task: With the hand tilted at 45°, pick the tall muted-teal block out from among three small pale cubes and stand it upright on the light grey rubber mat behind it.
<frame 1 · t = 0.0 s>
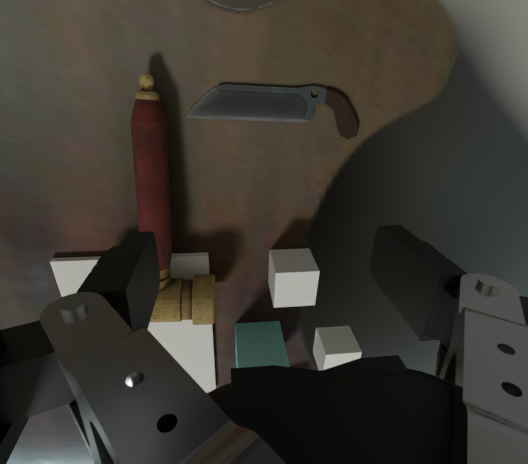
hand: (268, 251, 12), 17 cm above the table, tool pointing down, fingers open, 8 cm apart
gavel: (158, 206, 28), on the table, touching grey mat
teal block: (256, 338, 38), on the table
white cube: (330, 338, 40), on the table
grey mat: (147, 332, 35), on the table
knife: (275, 110, 26), on the table
grey cube left: (288, 265, 34), on the table
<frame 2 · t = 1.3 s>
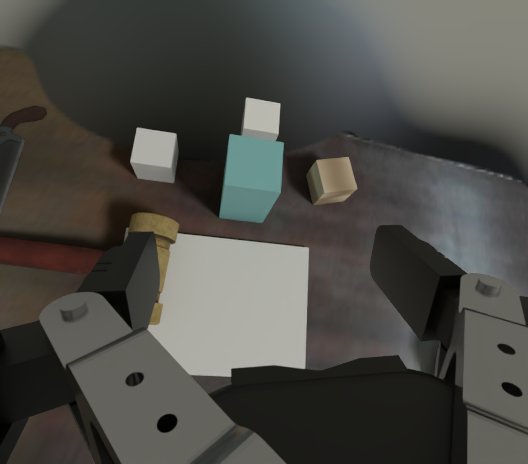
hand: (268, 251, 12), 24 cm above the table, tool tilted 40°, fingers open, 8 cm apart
gavel: (67, 261, 33), on the table, touching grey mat
teal block: (242, 200, 38), on the table
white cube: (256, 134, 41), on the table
birch cube right: (324, 188, 41), on the table
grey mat: (214, 303, 35), on the table
knife: (12, 163, 35), on the table
grey cube left: (158, 165, 38), on the table
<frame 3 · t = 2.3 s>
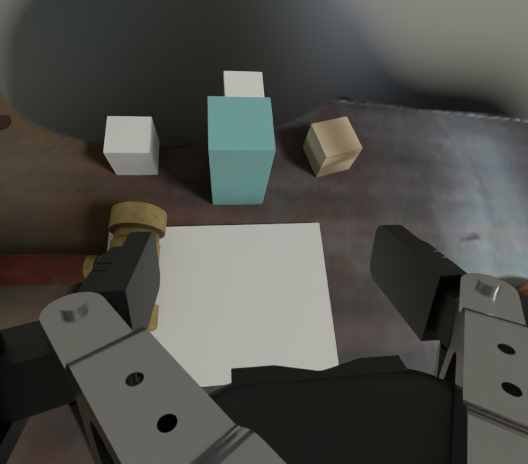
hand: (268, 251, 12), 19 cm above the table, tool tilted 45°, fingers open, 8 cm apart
gavel: (45, 274, 29), on the table, touching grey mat
teal block: (236, 182, 34), on the table
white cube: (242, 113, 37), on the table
birch cube right: (325, 158, 36), on the table
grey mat: (220, 299, 30), on the table
grey cube left: (138, 158, 34), on the table
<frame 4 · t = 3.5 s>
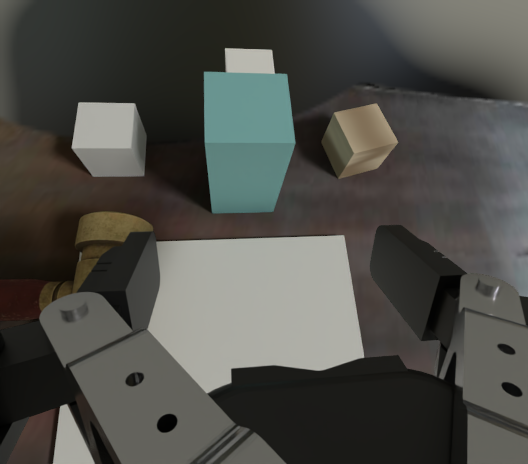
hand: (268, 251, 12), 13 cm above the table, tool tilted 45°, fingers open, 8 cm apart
teal block: (241, 185, 28), on the table
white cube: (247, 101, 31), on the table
birch cube right: (348, 155, 30), on the table
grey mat: (221, 335, 23), on the table
grey cube left: (121, 156, 28), on the table
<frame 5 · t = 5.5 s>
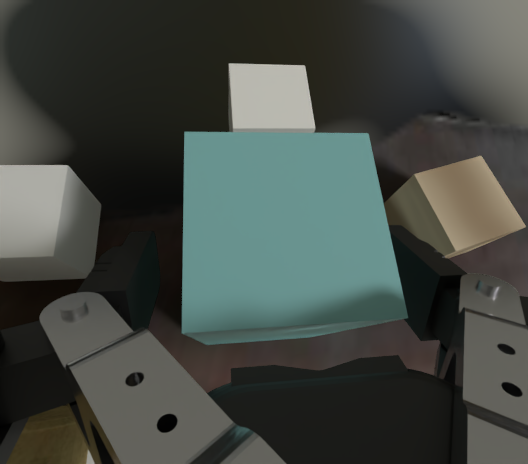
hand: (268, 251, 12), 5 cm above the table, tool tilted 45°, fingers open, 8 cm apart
teal block: (255, 289, 17), on the table
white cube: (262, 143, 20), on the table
birch cube right: (422, 230, 19), on the table
grey cube left: (56, 241, 17), on the table
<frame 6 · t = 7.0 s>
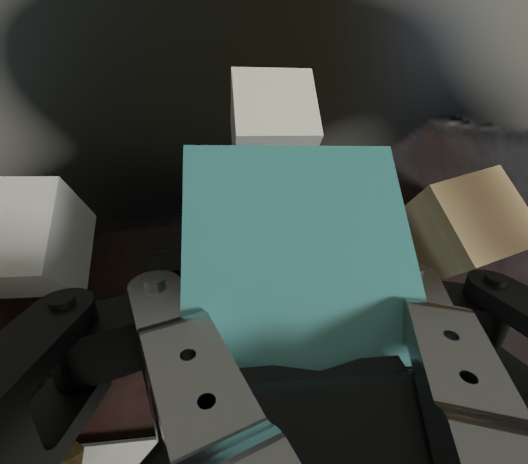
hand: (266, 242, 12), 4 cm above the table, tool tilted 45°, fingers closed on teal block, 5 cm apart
teal block: (259, 306, 16), on the table, touching gripper
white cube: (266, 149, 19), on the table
birch cube right: (434, 241, 18), on the table
grey cube left: (48, 255, 16), on the table
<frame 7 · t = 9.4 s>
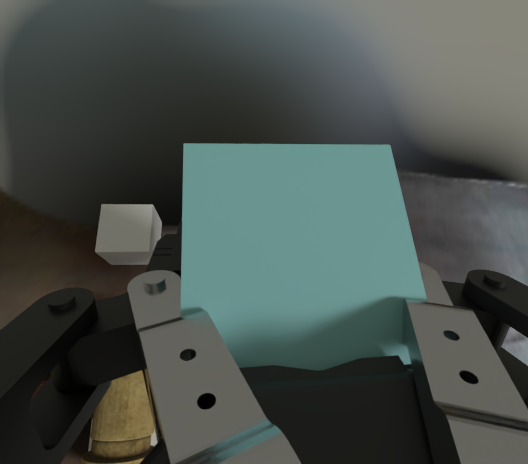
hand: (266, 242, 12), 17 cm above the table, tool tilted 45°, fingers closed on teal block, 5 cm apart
gavel: (25, 397, 24), on the table, touching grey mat
teal block: (259, 306, 16), point 13 cm above the table, touching gripper
grey cube left: (137, 243, 29), on the table
when the fingers open (6 cm above the table, at t = 12.4 s): teal block drops 1 cm, resting on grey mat.
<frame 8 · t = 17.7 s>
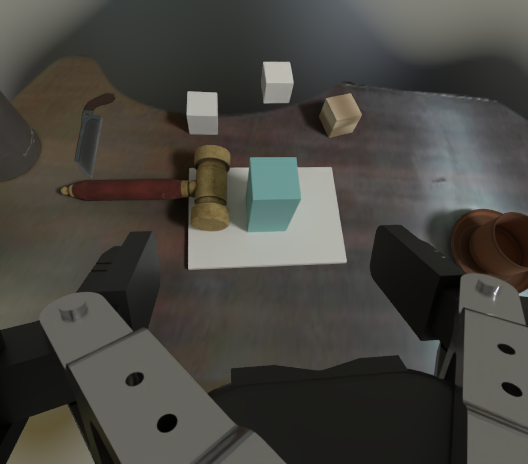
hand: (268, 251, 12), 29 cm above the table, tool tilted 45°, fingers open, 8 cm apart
gavel: (149, 196, 43), on the table, touching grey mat
teal block: (265, 214, 43), point 1 cm above the table, touching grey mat
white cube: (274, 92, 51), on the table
birch cube right: (335, 124, 50), on the table
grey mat: (265, 215, 44), on the table
knife: (95, 136, 46), on the table
grey cube left: (204, 123, 48), on the table
cup and saucer: (483, 254, 46), on the table
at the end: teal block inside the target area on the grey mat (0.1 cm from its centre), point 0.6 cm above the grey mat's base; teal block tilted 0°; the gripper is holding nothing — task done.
